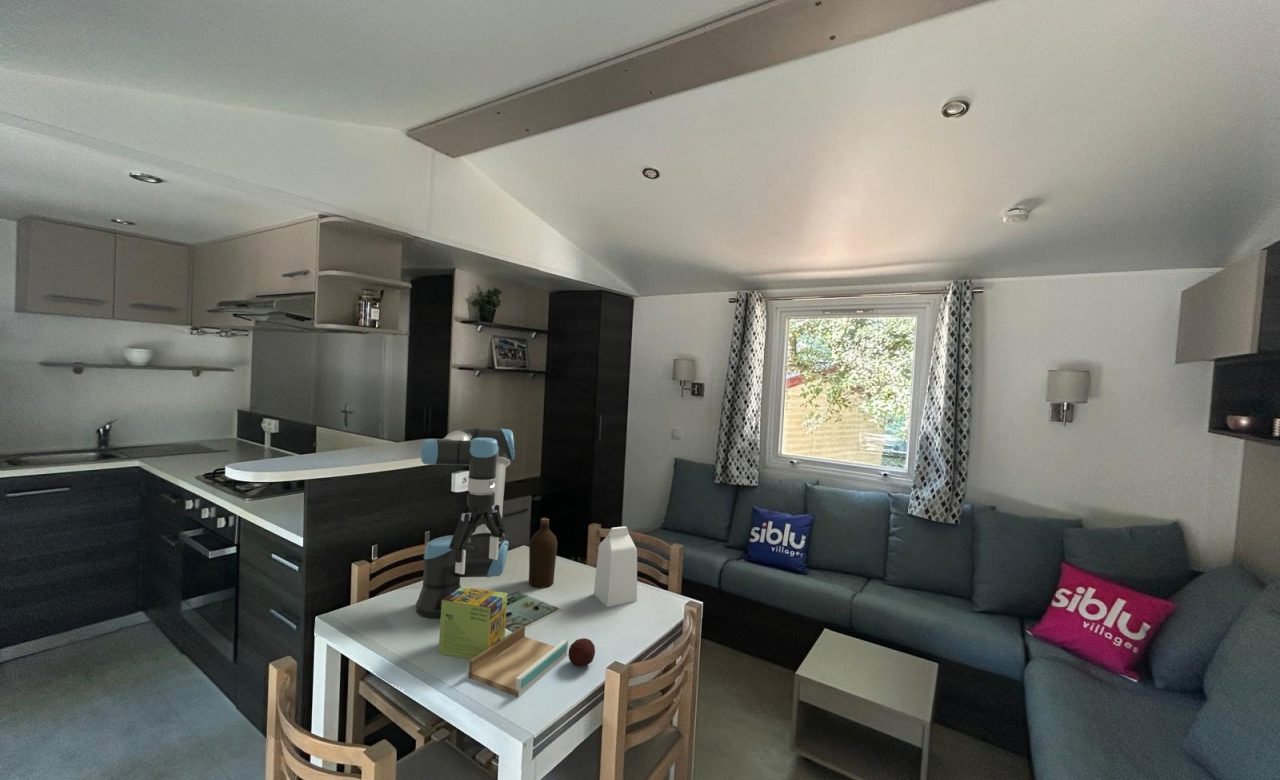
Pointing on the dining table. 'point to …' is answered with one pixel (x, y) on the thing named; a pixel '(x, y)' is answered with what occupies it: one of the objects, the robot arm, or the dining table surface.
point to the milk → (616, 569)
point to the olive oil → (542, 556)
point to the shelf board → (511, 664)
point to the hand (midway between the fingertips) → (477, 565)
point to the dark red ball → (581, 652)
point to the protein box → (471, 622)
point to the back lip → (496, 649)
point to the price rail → (541, 667)
